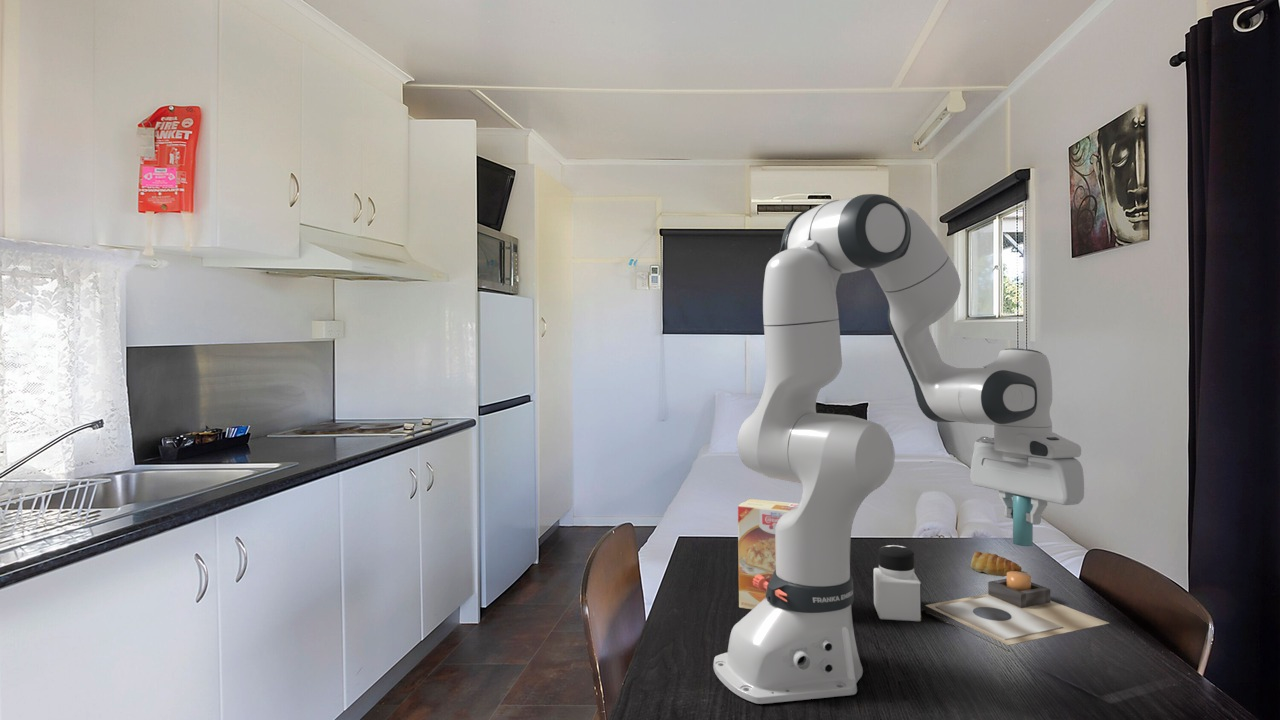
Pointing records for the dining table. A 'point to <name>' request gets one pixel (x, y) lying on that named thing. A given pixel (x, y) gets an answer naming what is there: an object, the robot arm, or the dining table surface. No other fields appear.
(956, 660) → the dining table surface
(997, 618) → the beige board with holder
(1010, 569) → the pastry
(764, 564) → the coffeecake box
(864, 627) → the dining table surface
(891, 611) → the medicine bottle
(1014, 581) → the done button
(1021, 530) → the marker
